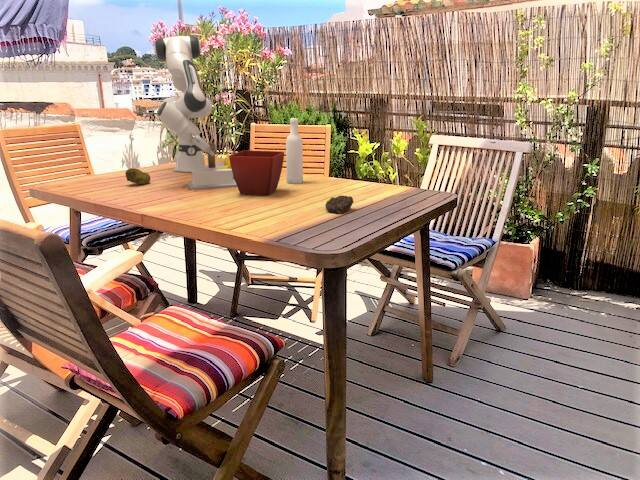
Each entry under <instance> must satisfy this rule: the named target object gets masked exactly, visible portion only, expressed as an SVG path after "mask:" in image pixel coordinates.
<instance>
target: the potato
mask: <svg viewBox="0 0 640 480" xmlns="http://www.w3.org/2000/svg"><path fill="white" fill-rule="evenodd" d="M125 178H126V181H127V182H130V183H132V184H137V185H141V186H143V185H146V184H148V183H150V182H151V176H150V174H149V173H146V171H145V172H144V171H142V170H140V169H139V168H137V167H133V168H132V167H131V168H128V169H127V170H126V171H125Z"/></svg>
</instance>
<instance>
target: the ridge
mask: <svg viewBox="0 0 640 480" xmlns="http://www.w3.org/2000/svg"><path fill="white" fill-rule="evenodd" d="M191 177H192V178H191V179H192V181H187V182H186V185H187V187H188V188H189V189H190V191H191V190H205V189H207V190H208V189H222V188H223V189H225V188H227V189H228V188H238V187H237V184H236V182H235V179H234V178H233V172H232V169H216V170H209V169H208V170H196V171H192V172H191Z"/></svg>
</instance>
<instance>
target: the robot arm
mask: <svg viewBox="0 0 640 480" xmlns="http://www.w3.org/2000/svg"><path fill="white" fill-rule="evenodd" d="M153 49H154V53H155V55H156V57H157V59H158V60H159V61H165V63H166V68H167V70H168V71H167V72H169V74H170V76H171V81H172V85H173V87H174V88H175V89H176V90H178V91H180V92H181V93H182V95H181V96H178V95H177V96H170V97H166V98H165V99H164V100H163V101H162V104H161V105H160V107H159V108H158V110H157V117H158V118H159V120H160V121H161V122H162V123H163V124H164V125H165V126H166V127H167V129H169V130H171V131H173V132H174V134H175V135H176V136H177V137H178V154H176V156H175V158H174V160H175V164H176V166H175V167H174V168H173V172H183V173H184V172H185V173H188V172H189V173H192V171H196V170H209V169H208V167H207V165H206V158H205V157H206V156H205V154H204V153H207V154H208V153H209V154H210V155H211V156H214V155H215V156H216V152H215V153H214V152H213V151H212V150H211V149H210V145H209V144H208V143H209V142H207V141H205V139H203V138H202V137H201V136H200V134H201V133H200V129H199V127H198V126H197V125H196V124H195V123H194V122H192V120H190V119H193V118H194V119H197V118H198V119H200V118H206V117H209V116H210V114H211V113H212V110H213V106H212V103H211V101H210V99H209V98H208V97H206V95H205V93H204V91H203V89H202V85H201V81H200V78H199V73H198V71H197V70H198V69H197V67H196V64H194V62H193V61H192V60H195V59H198V58H200V56H201V53H202V44H201V42H200V40H199V37H197V36H195V35H188V36H187V35H176V36H168V37H166V36H165V37H160V38H157V39H156V40H155V41H154V46H153ZM203 152H204V153H203Z"/></svg>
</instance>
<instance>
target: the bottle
mask: <svg viewBox="0 0 640 480" xmlns="http://www.w3.org/2000/svg"><path fill="white" fill-rule="evenodd" d="M289 125H290V126H289V131H290V133H289V135H288V136H287V137H286V140H285V152H286V153H285V154H286V155H285V156H286V157H285V158H286V159H285V161H286V164H285V165H286V167H285V168H286V169H285V170H286V178H285V180H286V183H287V184H289V185H290V184H291V185H299V184H300V185H301V184H303V182H304V166H303V163H304V159H303V158H304V157H303V156H304V154H303V152H304V151H303V145H304V144H303V138H302V136H301V135H300V134H299V118H298V117H297V118H296V117H291V118H289Z"/></svg>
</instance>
